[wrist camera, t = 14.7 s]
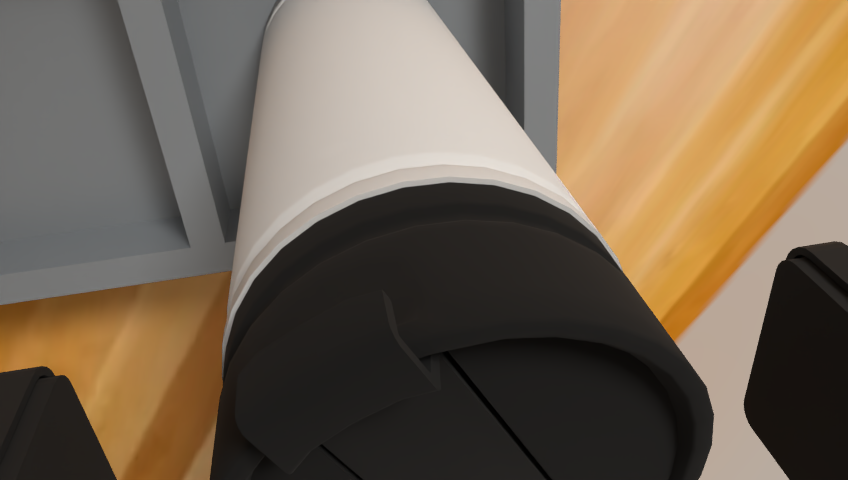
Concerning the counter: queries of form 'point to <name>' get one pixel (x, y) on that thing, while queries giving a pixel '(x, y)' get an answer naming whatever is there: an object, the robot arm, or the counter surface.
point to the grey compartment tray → (177, 128)
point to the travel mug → (427, 281)
